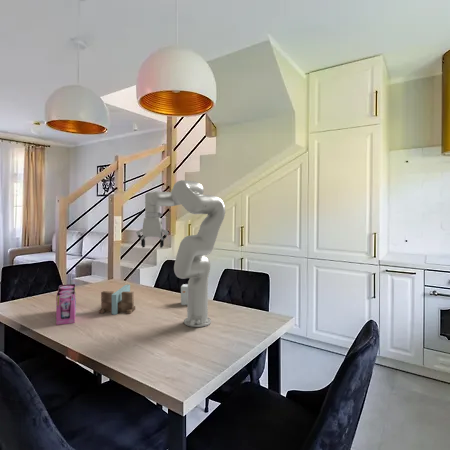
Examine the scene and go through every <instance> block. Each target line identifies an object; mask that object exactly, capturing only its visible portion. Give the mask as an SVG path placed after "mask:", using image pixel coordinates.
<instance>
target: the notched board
mask: <svg viewBox="0 0 450 450" xmlns="http://www.w3.org/2000/svg"><path fill="white" fill-rule="evenodd" d="M122 292H131V284H125V285H123V286H122V287H121V288H119V289H117V290H116V291H115V292H114V293H113V294H112V312H111V315H118V313H119V312H118V302H120V301H122Z"/></svg>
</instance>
